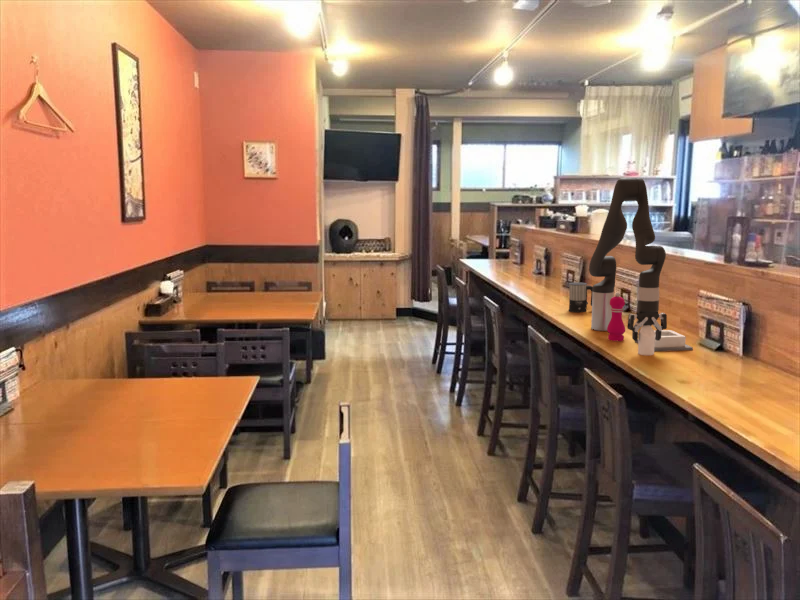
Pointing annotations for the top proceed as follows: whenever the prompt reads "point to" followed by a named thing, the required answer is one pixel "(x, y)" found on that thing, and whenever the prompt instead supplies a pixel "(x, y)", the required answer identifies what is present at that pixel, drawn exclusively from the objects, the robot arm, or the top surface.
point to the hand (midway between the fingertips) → (646, 340)
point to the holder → (671, 342)
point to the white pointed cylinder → (646, 340)
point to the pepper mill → (616, 319)
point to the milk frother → (578, 296)
